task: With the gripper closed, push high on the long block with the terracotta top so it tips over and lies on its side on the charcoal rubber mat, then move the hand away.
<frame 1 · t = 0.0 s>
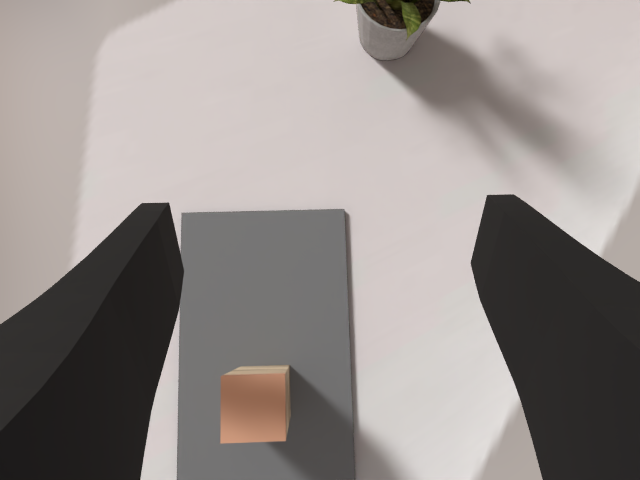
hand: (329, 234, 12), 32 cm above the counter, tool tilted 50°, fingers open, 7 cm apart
long block: (265, 390, 42), resting on rubber mat
rubber mat: (265, 340, 43), on the counter
house plant: (400, 34, 49), on the counter
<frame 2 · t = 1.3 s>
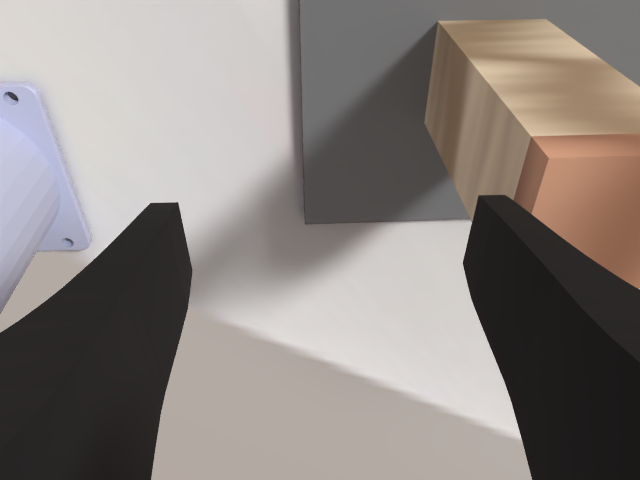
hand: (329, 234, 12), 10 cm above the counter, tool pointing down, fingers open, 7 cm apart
long block: (481, 73, 20), resting on rubber mat
rubber mat: (576, 66, 21), on the counter
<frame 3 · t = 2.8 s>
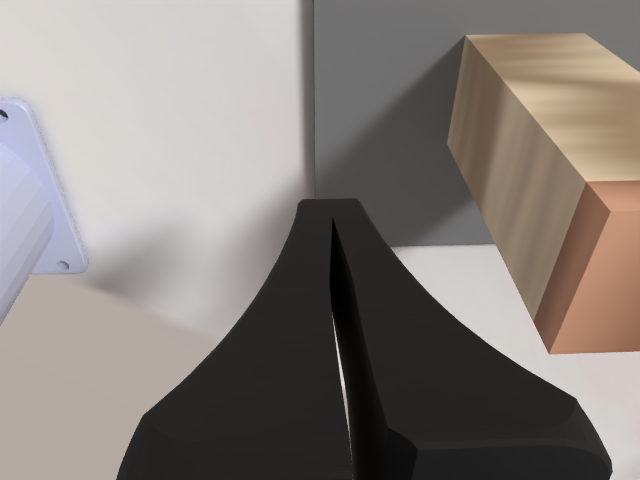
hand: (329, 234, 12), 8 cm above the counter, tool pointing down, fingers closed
long block: (511, 91, 18), resting on rubber mat
rubber mat: (614, 84, 19), on the counter
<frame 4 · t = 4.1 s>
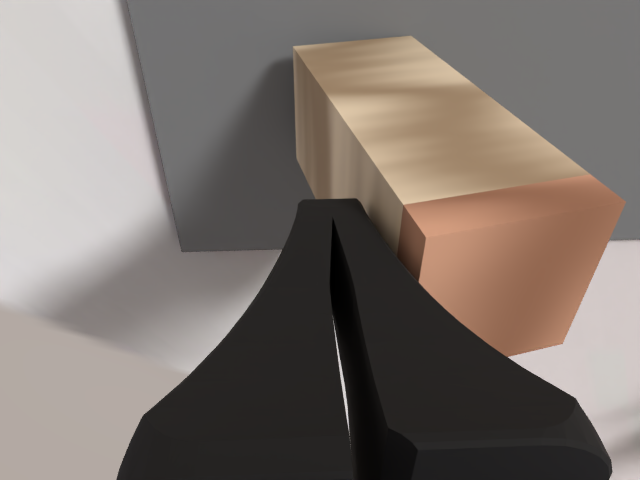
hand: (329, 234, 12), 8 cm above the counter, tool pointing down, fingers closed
long block: (351, 99, 18), point 1 cm above the counter, tilted 13°, touching rubber mat
rubber mat: (457, 87, 19), on the counter
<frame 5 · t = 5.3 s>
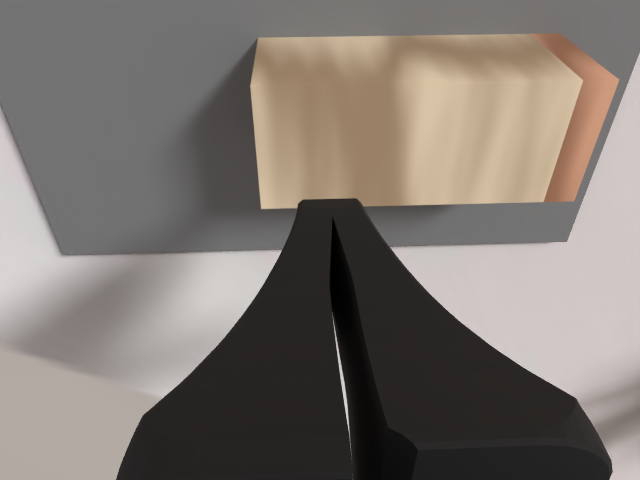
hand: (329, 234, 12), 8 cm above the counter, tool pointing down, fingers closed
long block: (259, 121, 17), point 2 cm above the counter, tilted 90°, touching rubber mat
rubber mat: (317, 89, 19), on the counter
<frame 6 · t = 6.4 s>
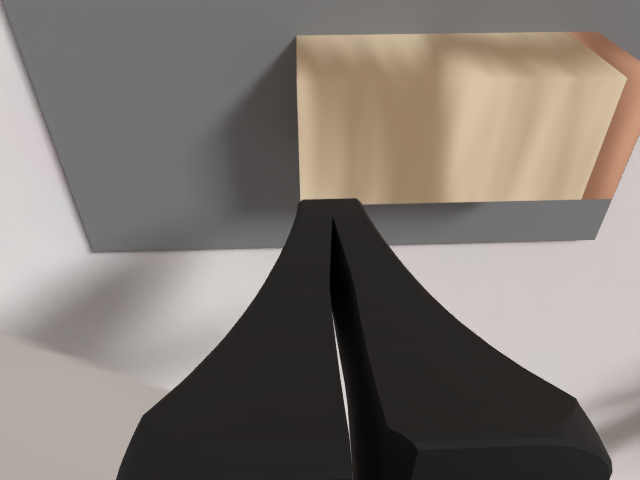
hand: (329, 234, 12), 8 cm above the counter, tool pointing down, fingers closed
long block: (298, 119, 17), point 2 cm above the counter, tilted 90°, touching rubber mat
rubber mat: (352, 87, 19), on the counter
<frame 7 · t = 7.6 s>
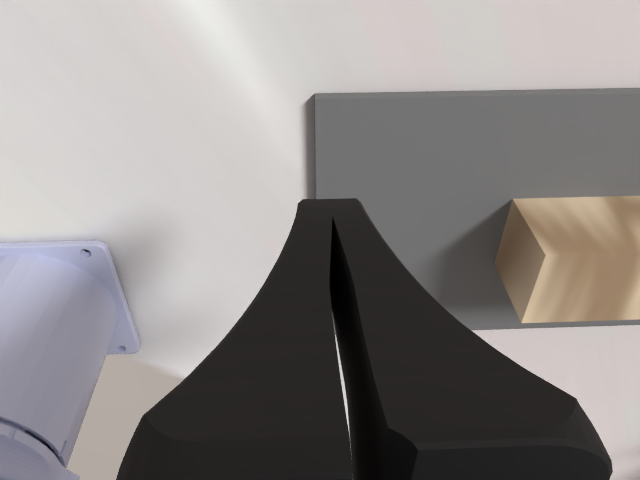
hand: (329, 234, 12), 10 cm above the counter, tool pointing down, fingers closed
long block: (516, 260, 23), point 2 cm above the counter, tilted 90°, touching rubber mat
rubber mat: (538, 225, 25), on the counter
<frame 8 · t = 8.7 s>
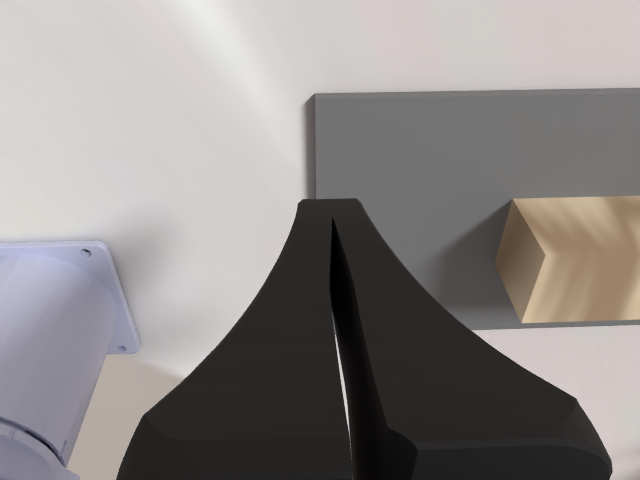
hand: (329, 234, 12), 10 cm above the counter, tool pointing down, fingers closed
long block: (516, 260, 23), point 2 cm above the counter, tilted 90°, touching rubber mat
rubber mat: (538, 225, 25), on the counter
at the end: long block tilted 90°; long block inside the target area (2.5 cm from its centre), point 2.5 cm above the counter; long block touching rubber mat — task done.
